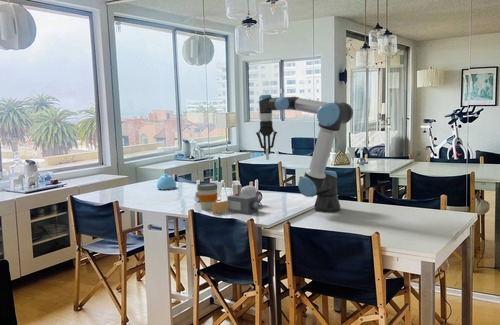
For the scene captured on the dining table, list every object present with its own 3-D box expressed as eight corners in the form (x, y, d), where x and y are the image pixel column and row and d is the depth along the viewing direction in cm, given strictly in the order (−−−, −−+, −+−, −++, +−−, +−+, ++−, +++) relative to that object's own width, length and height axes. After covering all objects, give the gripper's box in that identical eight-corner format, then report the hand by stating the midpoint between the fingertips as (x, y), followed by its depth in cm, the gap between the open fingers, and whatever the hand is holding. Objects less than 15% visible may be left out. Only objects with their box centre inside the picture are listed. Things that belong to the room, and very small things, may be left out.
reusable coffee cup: (221, 206, 297) (220, 182, 295) (214, 210, 285) (213, 186, 283) (202, 205, 300) (201, 182, 298) (195, 210, 288) (193, 186, 286)
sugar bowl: (170, 186, 379) (169, 171, 378) (180, 188, 368) (179, 173, 366) (153, 188, 370) (152, 174, 368) (163, 191, 358) (162, 176, 357)
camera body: (261, 211, 278) (260, 194, 277) (251, 214, 271) (250, 197, 270) (237, 207, 290) (237, 192, 289) (227, 211, 283) (227, 194, 282)
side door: (213, 213, 276) (212, 203, 275) (212, 212, 277) (212, 202, 276) (229, 210, 281) (229, 200, 281) (228, 209, 282) (228, 200, 282)
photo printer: (253, 203, 301) (252, 184, 299) (257, 204, 297) (256, 185, 296) (240, 205, 295) (239, 186, 294) (243, 207, 292) (242, 187, 290)
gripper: (277, 119, 286) (278, 158, 289) (256, 120, 288) (257, 158, 291) (276, 120, 279) (277, 159, 282) (254, 121, 280) (256, 160, 283)
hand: (267, 159), depth 286 cm, fingers closed
